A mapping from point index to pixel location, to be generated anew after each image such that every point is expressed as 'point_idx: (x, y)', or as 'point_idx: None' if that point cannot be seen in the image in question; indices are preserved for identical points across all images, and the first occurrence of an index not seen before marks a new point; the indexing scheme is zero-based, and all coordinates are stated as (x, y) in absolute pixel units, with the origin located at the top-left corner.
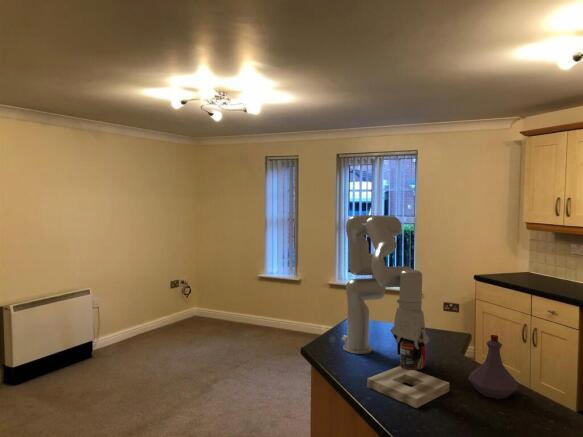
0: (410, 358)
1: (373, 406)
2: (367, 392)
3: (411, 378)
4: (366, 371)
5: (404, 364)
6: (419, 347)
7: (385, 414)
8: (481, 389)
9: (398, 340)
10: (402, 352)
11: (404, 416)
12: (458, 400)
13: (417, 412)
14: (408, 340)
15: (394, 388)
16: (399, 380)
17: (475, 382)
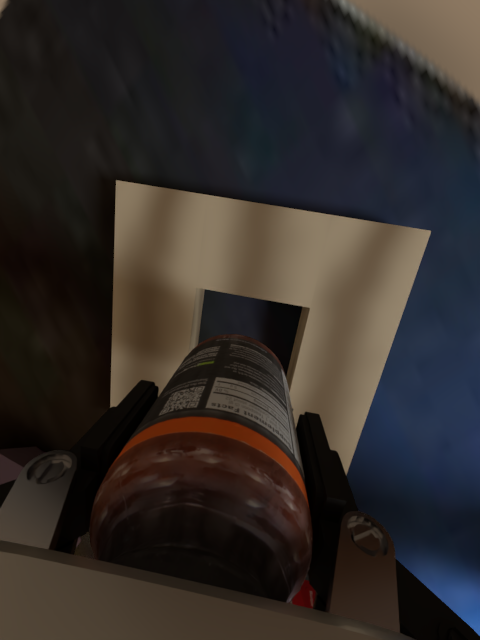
0: (178, 376)
1: (285, 42)
2: (378, 173)
3: None
4: (476, 387)
5: (233, 343)
6: (28, 480)
7: (201, 8)
8: (12, 450)
9: (354, 551)
10: (249, 393)
11: (131, 68)
12: (71, 366)
13: (115, 155)
14: (139, 553)
15: (251, 216)
16: (293, 360)
17: (18, 469)
